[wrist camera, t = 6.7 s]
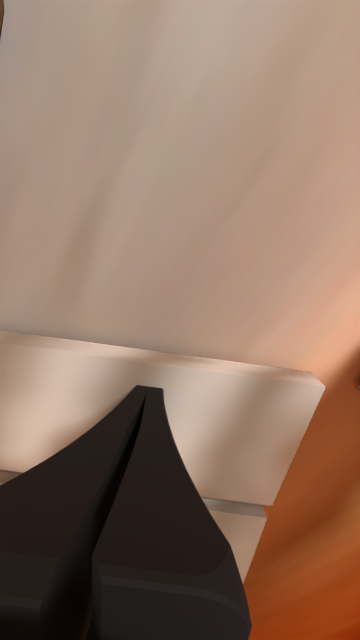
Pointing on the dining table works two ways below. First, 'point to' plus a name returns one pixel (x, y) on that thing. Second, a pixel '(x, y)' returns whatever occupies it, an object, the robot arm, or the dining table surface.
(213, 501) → the laid board
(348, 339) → the dining table surface
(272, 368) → the board
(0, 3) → the cork
